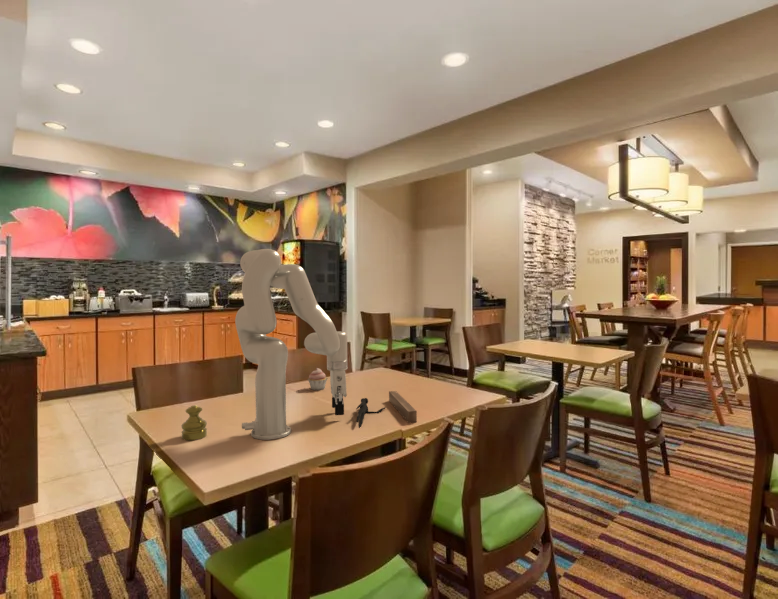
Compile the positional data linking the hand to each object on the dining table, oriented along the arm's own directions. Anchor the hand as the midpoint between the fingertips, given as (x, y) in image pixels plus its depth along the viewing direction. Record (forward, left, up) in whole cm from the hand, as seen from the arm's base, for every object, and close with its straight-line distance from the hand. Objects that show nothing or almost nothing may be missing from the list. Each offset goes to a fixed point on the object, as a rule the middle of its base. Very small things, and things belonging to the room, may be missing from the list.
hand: (337, 411), depth 164 cm
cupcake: (-4, +45, -2) cm, 45 cm away
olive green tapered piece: (-47, -11, -2) cm, 49 cm away
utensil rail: (+25, +1, -2) cm, 25 cm away
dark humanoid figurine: (+12, -5, -3) cm, 13 cm away
